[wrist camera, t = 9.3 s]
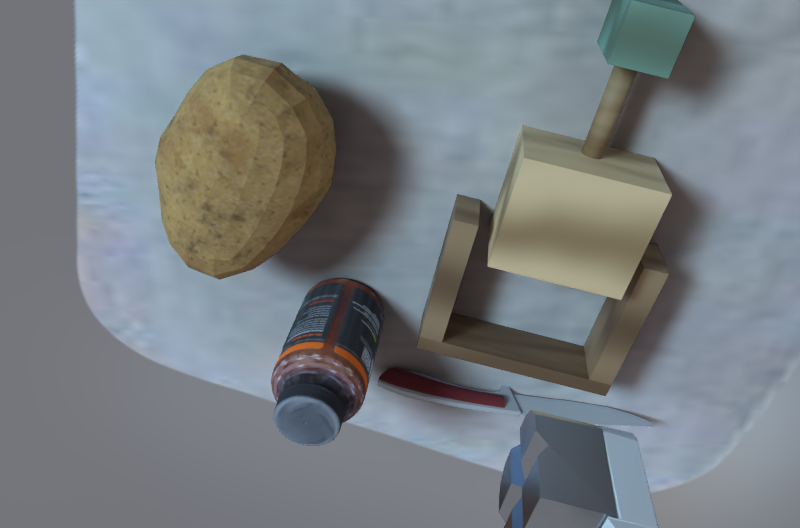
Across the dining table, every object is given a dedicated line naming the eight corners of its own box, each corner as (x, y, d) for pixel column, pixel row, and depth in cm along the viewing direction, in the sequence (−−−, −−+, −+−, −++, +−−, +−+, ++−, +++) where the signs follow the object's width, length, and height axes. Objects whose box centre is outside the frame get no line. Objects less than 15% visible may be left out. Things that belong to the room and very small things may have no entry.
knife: (381, 372, 51) (374, 399, 48) (382, 360, 50) (375, 386, 48) (649, 413, 49) (657, 443, 47) (654, 401, 49) (663, 431, 46)
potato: (166, 198, 45) (105, 259, 38) (227, 3, 37) (166, 34, 31) (297, 261, 46) (261, 330, 39) (381, 83, 39) (355, 131, 32)
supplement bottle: (288, 309, 48) (235, 420, 39) (336, 258, 45) (292, 365, 36) (352, 355, 50) (316, 473, 40) (402, 309, 47) (377, 424, 37)
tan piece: (457, 194, 42) (453, 219, 39) (657, 244, 42) (669, 274, 39) (421, 317, 47) (416, 348, 44) (599, 362, 47) (605, 396, 44)
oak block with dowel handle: (571, -28, 34) (580, -11, 30) (721, 9, 34) (751, 31, 30) (489, 226, 43) (487, 266, 38) (609, 256, 43) (621, 300, 38)
